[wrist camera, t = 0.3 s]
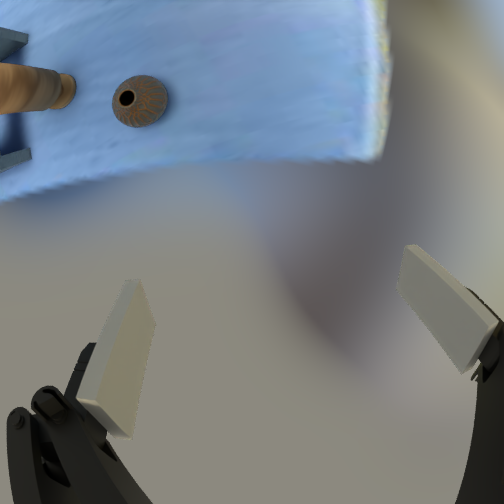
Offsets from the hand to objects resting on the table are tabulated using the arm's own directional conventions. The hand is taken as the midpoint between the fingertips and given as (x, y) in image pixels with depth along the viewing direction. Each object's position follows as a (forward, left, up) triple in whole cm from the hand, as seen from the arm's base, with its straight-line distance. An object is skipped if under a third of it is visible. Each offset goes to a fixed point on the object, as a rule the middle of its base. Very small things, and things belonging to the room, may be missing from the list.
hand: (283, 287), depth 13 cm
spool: (-18, -26, -28) cm, 42 cm away
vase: (-12, -12, -28) cm, 33 cm away
